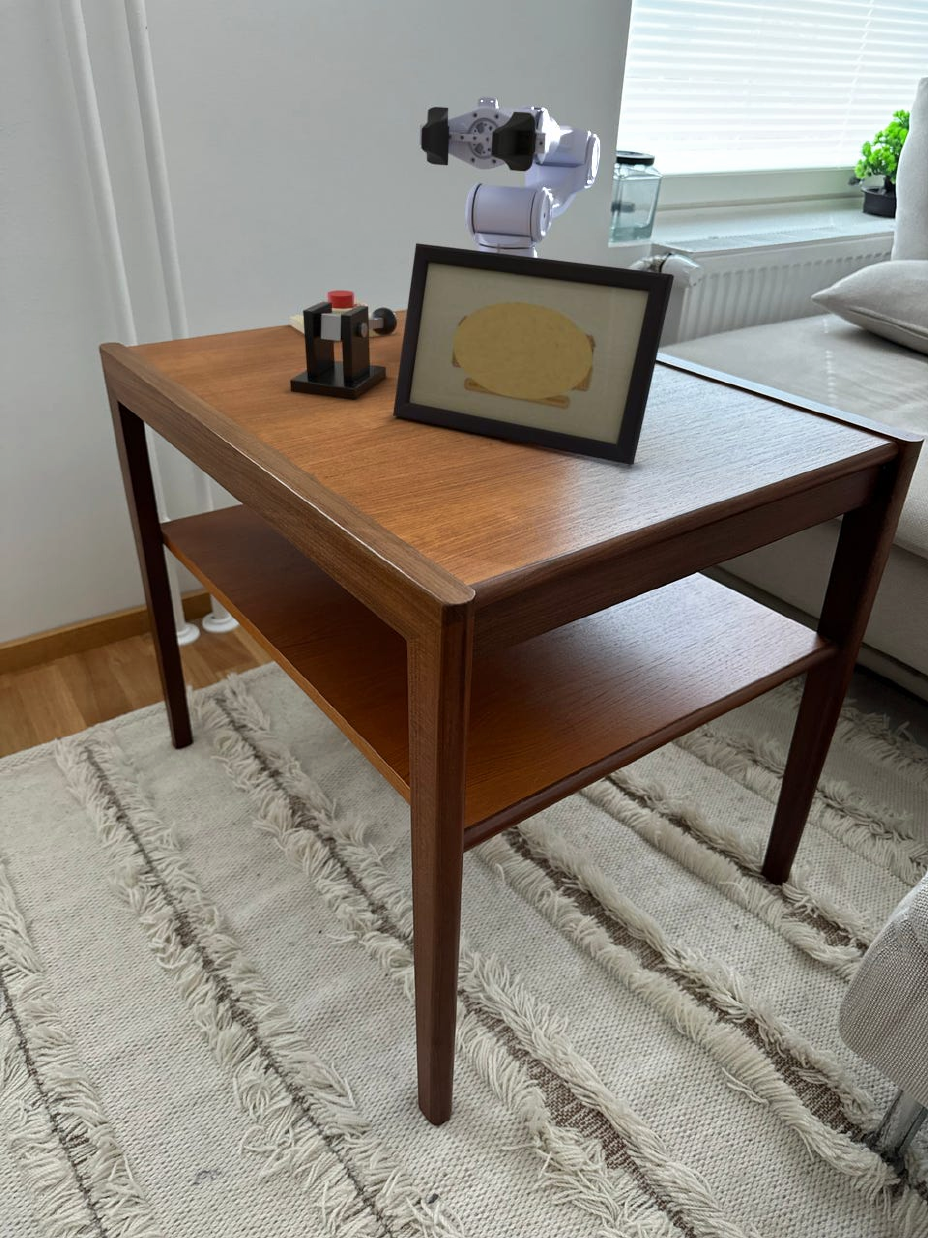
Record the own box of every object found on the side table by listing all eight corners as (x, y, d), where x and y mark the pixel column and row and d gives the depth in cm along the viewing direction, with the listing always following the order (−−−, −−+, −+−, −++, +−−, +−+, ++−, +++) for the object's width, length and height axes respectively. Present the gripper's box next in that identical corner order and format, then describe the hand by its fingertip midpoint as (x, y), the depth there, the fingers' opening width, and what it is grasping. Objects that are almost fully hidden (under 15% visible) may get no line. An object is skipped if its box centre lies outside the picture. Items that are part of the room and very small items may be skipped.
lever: (375, 333, 101) (377, 305, 100) (400, 336, 101) (401, 308, 99) (316, 341, 88) (317, 309, 87) (344, 345, 87) (345, 312, 86)
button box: (364, 317, 115) (363, 293, 114) (395, 334, 109) (394, 308, 107) (290, 325, 111) (288, 300, 109) (318, 343, 104) (316, 317, 103)
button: (348, 303, 110) (347, 289, 109) (358, 309, 108) (358, 294, 107) (324, 306, 109) (323, 291, 108) (334, 312, 107) (333, 296, 106)
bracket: (325, 370, 96) (321, 296, 92) (386, 378, 94) (384, 303, 90) (290, 391, 89) (284, 313, 85) (354, 400, 87) (351, 320, 83)
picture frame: (391, 417, 83) (399, 243, 76) (438, 402, 90) (449, 242, 84) (628, 467, 74) (660, 275, 68) (659, 446, 81) (690, 270, 75)
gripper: (440, 93, 103) (394, 92, 92) (562, 100, 99) (530, 99, 88) (438, 162, 106) (394, 168, 95) (556, 171, 103) (524, 179, 92)
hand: (459, 140), depth 92 cm, fingers open, 7 cm apart
